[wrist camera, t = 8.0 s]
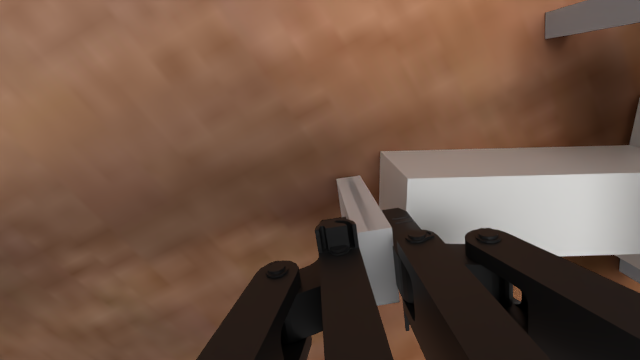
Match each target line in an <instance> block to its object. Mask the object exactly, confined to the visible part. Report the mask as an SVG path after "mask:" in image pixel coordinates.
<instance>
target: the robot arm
mask: <svg viewBox="0 0 640 360" xmlns="http://www.w3.org/2000/svg"><path fill="white" fill-rule="evenodd" d="M336 181H337V188H338V195H339V202H340V209H341V216H342V217H340V218H333V219H327V220H322V221H321V222H320V224H319V225H318V226H317V227H316V229H315V234H316V240H317V246H318V252H319V258H318V260H317V261H316V262H314V263H313V264H311V265H310V266H307V267H305V268H302V269H299V267H298V266H297V264H296V263H294V262H292V261H275V262H271V263H269V264H267V265H266V266H264V267H262V268H261V269H260V270H259V271H258V272H257V273H256V274H255V276H254V277H253V279H252V280H251V282H250V283H249V284H248V286H247V287H246V289H245V290H244V292H243V293H242V294H241V296H240V297H239V299H238V300H237V302H236V303H235V305H234V306H233V307H232V309H231V310H230V312H229V313H228V315H227V316H226V317H225V319H224V320H223V322H222V323H221V325H220V326H219V328H218V329H217V330H216V332H215V333H214V335H213V336H212V338H211V339H210V341H209V342H208V343H207V345H206V346H205V348H204V349H203V351H202V352H201V353H200V355H199V356H198V358H197V359H196V360H307V357H308V354H309V350H310V347H311V343H312V337H311V335H314V334H316V333H319V332H321V331H323V338H324V356H325V360H393V357H392V353H391V350H390V347H389V344H388V340H387V337H386V334H385V330H384V327H383V324H382V321H381V317H380V314H379V311H378V308H377V306H378V305H384V304H390V303H397V302H399V293H398V289H399V292H400V294H401V296H402V298H403V308H404V318H405V328H406V331H409V325H411V328H412V330H413V332H414V334H415V336H416V339H417V341H418V343H419V345H420V347H421V350H422V352H423V354H424V356H425V358H426V360H640V293H638V292H636V291H634V290H631V289H629V288H627V287H625V286H623V285H620V284H618V283H616V282H614V281H612V280H609V279H607V278H605V277H603V276H601V275H598V274H596V273H594V272H592V271H590V270H587V269H585V268H583V267H581V266H579V265H577V264H574V263H572V262H570V261H568V260H566V259H563V258H561V257H559V256H557V255H555V254H552V253H550V252H548V251H546V250H544V249H541V248H539V247H537V246H535V245H533V244H530V243H528V242H526V241H524V240H522V239H519V238H517V237H515V236H513V235H511V234H508V233H506V232H503V231H500V230H496V229H492V228H479V229H476V230H472V231H470V232H468V233H467V234H466V235H465V244H447V243H444V242H443V240H442V239H441V238H440V237H439V236H438V235H437V234H435V233H434V232H432V231H428V230H421V229H420V227H419V226H418V225H417V224H416V222H415V221H414V220H413V219H412V217H411V216H410V215H409V214H408V212H407V211H405V210H403V209H400V208H392V209H386V210H381V209H380V207H379V206H378V204H377V202H376V201H375V199H374V197H373V196H372V194H371V193H370V191H369V189H368V188H367V186H366V184H365V183H364V181H363V180H362V178H361V176H360V175H359V176H352V177H346V178H339V179H336ZM513 285H514V286H516V287H517V288H519V289H520V290H521V291H522V300H521V302H520V301H518V300H517V299H515V298H514V297H513Z"/></svg>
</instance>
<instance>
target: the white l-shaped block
mask: <svg viewBox="0 0 640 360" xmlns="http://www.w3.org/2000/svg"><path fill="white" fill-rule="evenodd" d="M379 207H380V209H381V210H386V209H392V208H400V209H403V210H405V211H407V212H408V214H409V215H410V216H411V217H412V219H413V220H414V221H415V222H416V224H417V225H418V226H419V227H420V229H421V230H428V231H432V232H434V233H435V234H437V235H438V236H439V237H440V238H441V239H442V240H443V242H444V243H447V244H465V235H466V234H467V233H468V232H470V231H472V230H476V229H479V228H492V229H496V230H500V231H503V232H506V233H508V234H511V235H513V236H515V237H517V238H519V239H522V240H524V241H526V242H528V243H530V244H533V245H535V246H537V247H539V248H541V249H544V250H546V251H548V252H550V253H552V254H555V255H557V256H590V255H615V256H617V257H619V258H620V259H622V260H624V261H626V262H627V263H629V264H631V265H633V266H634V267H636V268H638V269H640V98H639V103H638V107H637V112H636V116H635V121H634V125H633V130H632V134H631V139H630V143H629V145H616V146H575V147H534V148H494V149H453V150H412V151H380V184H379Z"/></svg>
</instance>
